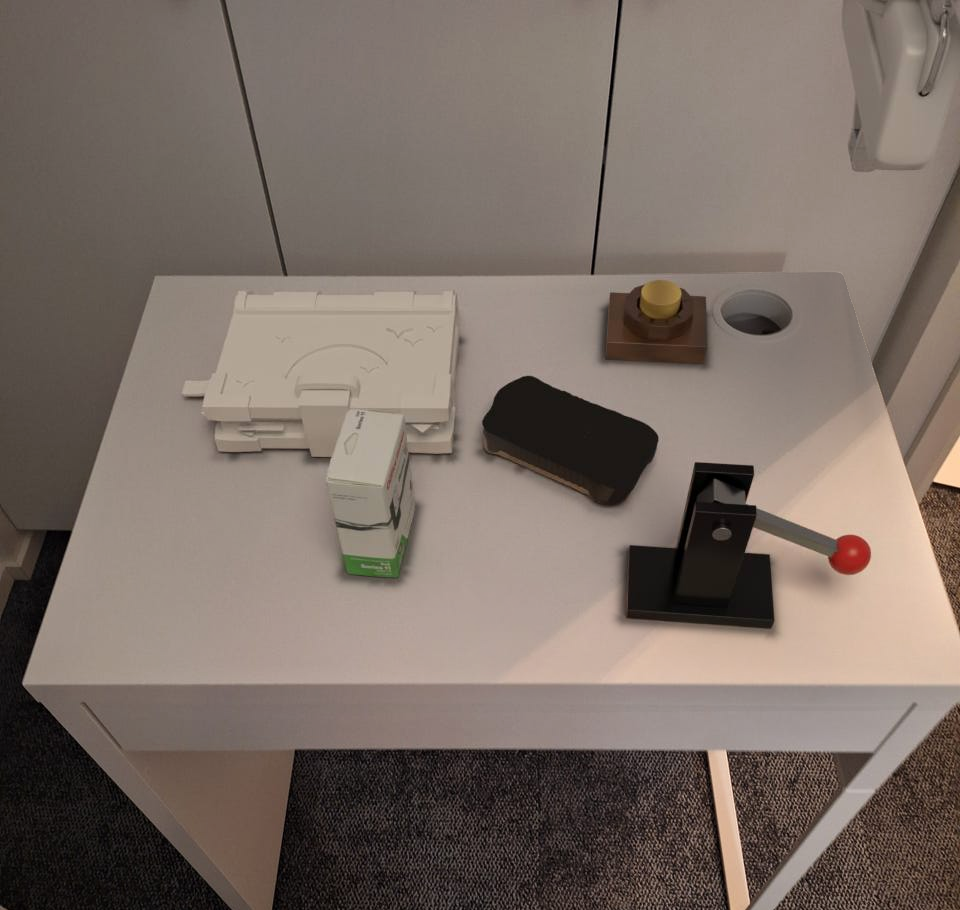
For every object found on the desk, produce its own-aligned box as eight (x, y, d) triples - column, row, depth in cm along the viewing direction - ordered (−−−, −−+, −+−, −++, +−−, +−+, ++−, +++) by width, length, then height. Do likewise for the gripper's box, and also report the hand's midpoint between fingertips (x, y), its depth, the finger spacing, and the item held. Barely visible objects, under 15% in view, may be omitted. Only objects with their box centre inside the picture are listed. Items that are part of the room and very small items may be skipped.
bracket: (767, 562, 82) (804, 458, 72) (771, 629, 79) (811, 529, 68) (628, 553, 83) (644, 449, 73) (625, 618, 80) (643, 518, 69)
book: (206, 330, 102) (186, 268, 96) (466, 330, 100) (462, 267, 94) (166, 462, 91) (140, 402, 85) (455, 464, 90) (451, 403, 84)
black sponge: (663, 460, 89) (668, 431, 86) (619, 518, 86) (623, 490, 83) (518, 397, 95) (518, 368, 92) (470, 449, 91) (468, 420, 88)
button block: (702, 313, 101) (709, 281, 97) (703, 364, 96) (710, 332, 93) (608, 309, 102) (611, 277, 98) (605, 359, 97) (608, 327, 94)
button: (679, 295, 97) (681, 280, 95) (679, 320, 95) (681, 305, 93) (639, 293, 97) (641, 278, 96) (639, 318, 95) (640, 304, 94)
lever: (849, 556, 78) (877, 534, 75) (853, 587, 76) (882, 566, 73) (693, 494, 74) (717, 469, 71) (693, 526, 72) (718, 501, 69)
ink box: (399, 580, 83) (383, 487, 73) (344, 574, 83) (321, 481, 73) (418, 505, 87) (405, 408, 77) (366, 500, 88) (347, 403, 78)
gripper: (1014, 15, 50) (927, 248, 62) (953, -132, 62) (889, 89, 73) (891, 16, 51) (828, 247, 63) (853, -129, 62) (805, 89, 74)
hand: (860, 160), depth 68 cm, fingers closed
